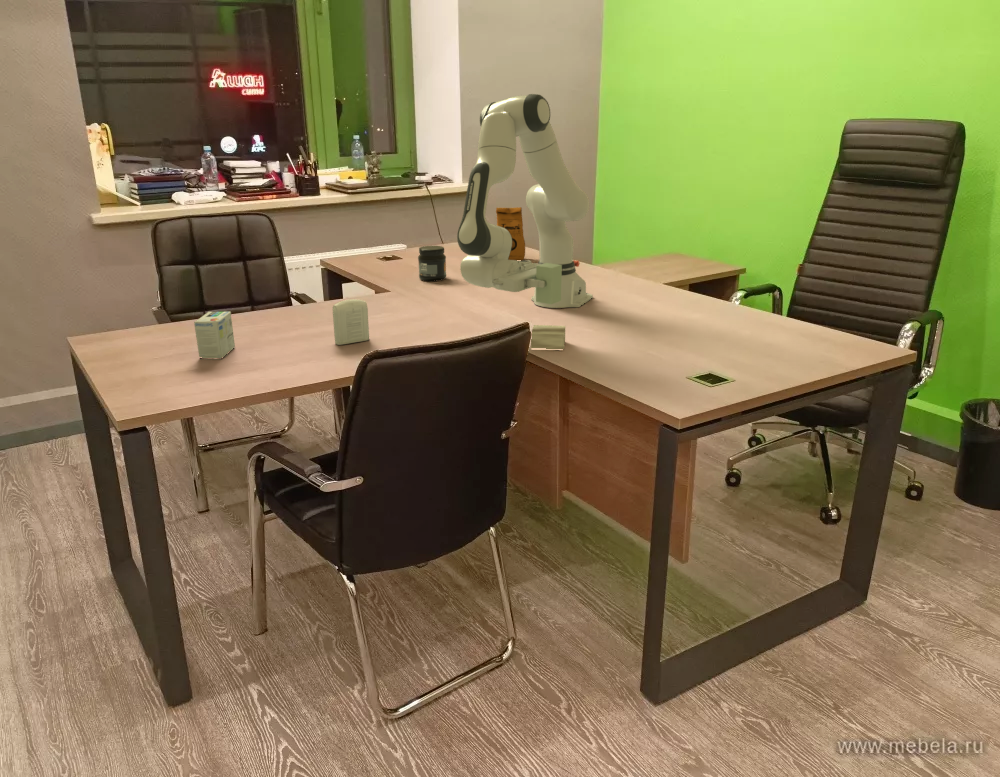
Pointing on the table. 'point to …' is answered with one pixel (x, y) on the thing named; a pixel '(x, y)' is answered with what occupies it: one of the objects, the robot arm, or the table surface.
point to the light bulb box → (214, 334)
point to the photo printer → (350, 321)
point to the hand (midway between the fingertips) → (551, 282)
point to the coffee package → (513, 230)
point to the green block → (549, 283)
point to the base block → (548, 337)
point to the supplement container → (432, 263)
